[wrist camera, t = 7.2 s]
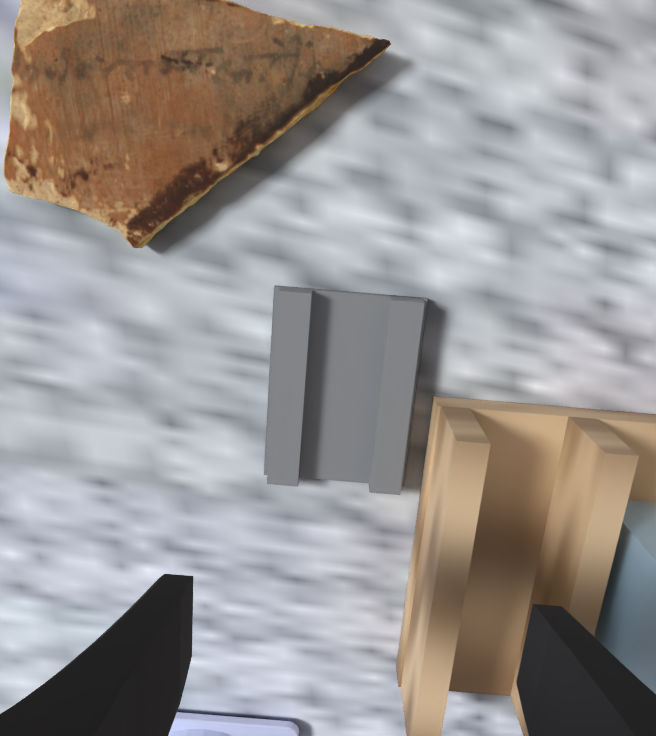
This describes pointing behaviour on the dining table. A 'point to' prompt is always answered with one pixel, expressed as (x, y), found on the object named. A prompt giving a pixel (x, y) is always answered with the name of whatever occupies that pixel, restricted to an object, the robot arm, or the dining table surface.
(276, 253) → the dining table surface
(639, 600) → the plate
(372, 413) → the holder
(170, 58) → the shard
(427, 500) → the rack
